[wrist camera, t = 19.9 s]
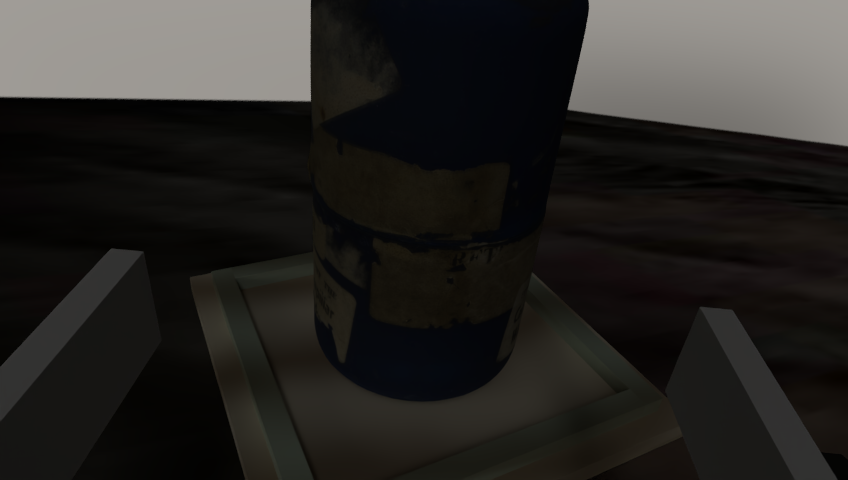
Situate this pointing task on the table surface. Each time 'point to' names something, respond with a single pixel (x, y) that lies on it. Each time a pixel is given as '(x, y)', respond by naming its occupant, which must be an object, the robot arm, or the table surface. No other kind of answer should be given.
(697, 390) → the robot arm
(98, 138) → the table surface
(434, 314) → the canister
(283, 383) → the square tray
